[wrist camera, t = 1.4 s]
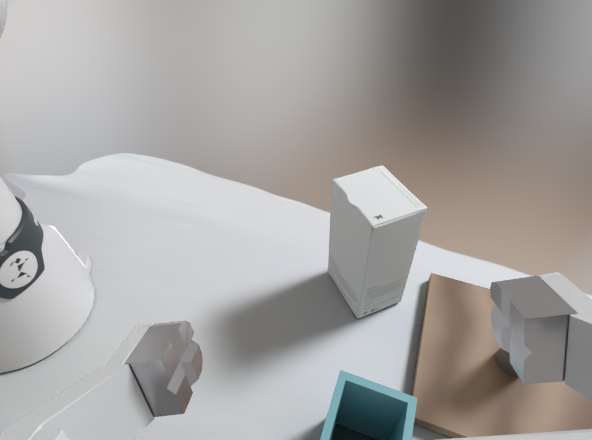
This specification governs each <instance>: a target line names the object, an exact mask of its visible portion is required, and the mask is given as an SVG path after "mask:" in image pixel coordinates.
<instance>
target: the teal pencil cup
mask: <svg viewBox="0 0 592 440" xmlns="http://www.w3.org/2000/svg"><path fill="white" fill-rule="evenodd" d="M416 405H417V398H416V397H413V396H411V395H408V394H405V393H402V392H400V391H397V390H394V389H391V388H389V387H386V386H383V385H380V384H377V383H375V382H372V381H369V380H366V379H364V378H361V377H358V376H355V375H353V374H350V373H347V372H344V371H342V370H340V373H339V377H338V380H337V383H336V387H335V390H334V393H333V397H332V400H331V404H330V407H329V410H328V414H327V417H326V420H325V424H324V427H323V431H322V434H321V437H320V440H332V436H333V433H334V429H335V426H336V423H337V424H340V425H342V426H345V427H347V428H350V429H352V430H355V431H357V432H360V433H362V434H364V435H367V436H369V437H372V438H374V439H377V440H412V434H413V426H414V419H415V412H416Z"/></svg>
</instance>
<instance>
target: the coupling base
mask: <svg viewBox="0 0 592 440" xmlns="http://www.w3.org/2000/svg"><path fill="white" fill-rule="evenodd" d="M495 305H496V304H495V303H494V301H493V300H492V298H491V297H490V289H488V288H484V287H480V286H477V285H473V284H469V283H466V282H462V281H458V280H455V279H451V278H447V277H444V276H440V275H437V274H433V273H431V275H430V278H429V280H428V287H427V293H426V300H425V307H424V313H423V320H422V327H421V333H420V340H419V347H418V353H417V360H416V367H415V373H414V380H413V387H412V393H411V396H413V397H416V398H417V405H416V412H415V419H414V424H416V425H418V426H421V427H424V428H426V429H429V430H432V431H434V432H437V433H439V434H442V435H445V436H447V437H450V438H467V437H482V436H497V435H512V434H528V433H542V432H556V431H570V430H583V429H592V401H590V400H589V399H587V398H586V397H584V396H583V395H581V394H580V393H578V392H577V391H575V390H574V389H572V388H571V387H569V386H568V385H566V384H565V382H551V383H534V384H523V383H522V381H521V379H520V378H519V376H518V375H517V373H516V371H515V370H514V368H513V367H512V365H511V363H510V353H508V352H506V351H505V350H503V349H501V347H500V345H499V344H498V342H497V340H496V337H495V335H494V332H493V328H492V324H491V310H492V309H493V307H494V306H495Z"/></svg>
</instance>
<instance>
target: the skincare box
mask: <svg viewBox="0 0 592 440" xmlns="http://www.w3.org/2000/svg"><path fill="white" fill-rule="evenodd" d="M331 195H332V196H331V217H330V239H329V261H328V273H329V274H330V276H331V278H332V279H333V281H334V283H335V284H336V286H337V287H338V289H339V290H340V292H341V294H342V295H343V297H344V298H345V300H346V302H347V303H348V305H349V306H350V308H351V309H352V311H353V313H354V314H355V316H356V317H357V318H361V317H363V316H366V315H368V314H371V313H373V312H376V311H378V310H381V309H383V308H386V307H388V306H390V305H393V304H395V303H398V302H400V301H401V299H402V295H403V292H404V288H405V285H406V281H407V277H408V274H409V271H410V267H411V264H412V260H413V257H414V253H415V250H416V246H417V243H418V239H419V236H420V232H421V229H422V225H423V221H424V218H425V214H426V211H427V207H426V206H425V205H424V204H422V203H421V201H419V200H418V199H417V198H416V197H415V196H414V195H413V194H412V193H411V192H410V191H409V190H408V189H407V188H406V187H405V186H404V185H402V184H401V183H400V182H399V181H398V180H397V179H396V178H395V177H394V176H393V175H392V174H391V173H390V172H389V171H388V170H387V169H386V168H385V167H384V166H382V165H381V166H378V167H374V168H371V169H367V170H364V171H361V172H358V173H354V174H351V175H347V176H344V177H340V178H336V179H333V180H332V194H331Z"/></svg>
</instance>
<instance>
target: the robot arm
mask: <svg viewBox="0 0 592 440" xmlns="http://www.w3.org/2000/svg"><path fill="white" fill-rule="evenodd" d="M6 18H7V0H0V37H1V35H2V33H3V31H4V27H5V23H6ZM91 264H92V260H91V258H90V257H89V256H88V254H86V253H84V252H76V251H73V250H72V248H71V247H70V246H69V244H68V243H67V242H66V241H65V239H64V238H63V237H62V236H61V234H60V233H59V232H58V231H57V229H56V228H55V227H53V226H52V225H49V226H47V225H44V224H39V222H38V220H37V218H36V216H35V215H34V213H33V212H32V211H31V209H30V208H28V207H27V206H26V205H25V203H24V202H23V201H22V200H21V199H19V198H17V197H15V196H14V195H13V194H12V193H11V191H10V190H9V188H8V187H7V185H6V184H5V183H4V181H3V180H2V178H1V177H0V373H3V372H8V371H13V370H16V369H20V368H23V367H26V366H28V365H31V364H33V363H35V362H38V361H40V360H42V359H43V358H45V357H47V356H49V355H50V354H52V353H53V352H55V351H56V350H58V349H59V348H60V347H62V346H63V345H64V344H65V343H66V342H67V341H69V340H70V339H71V338H72V337H73V336H74V335H75V334H76V332H77V331H78V330H79V329H80V328H81V326H82V325H83V324H84V322H85V321H86V319H87V317H88V315H89V313H90V311H91V309H92V306H93V302H94V287H93V284H92V281H91V279H90V274H89V273H90V269H91ZM490 297H491V298H492V300H493V301H494V303H495V304H496V305H495V306H494V307H493V309H492V310H491V324H492V328H493V332H494V335H495V337H496V340H497V342H498V344H499V345H500V347H501V349H503V350H505V351H506V352H508V353H510V363H511V365H512V367H513V368H514V370H515V371H516V373H517V375H518V376H519V378H520V379H521V381H522V383H523V384H534V383H551V382H565V384H566V385H568V386H569V387H571V388H572V389H574V390H575V391H577V392H578V393H580V394H581V395H583V396H584V397H586V398H587V399H589V400H590V401H592V300H591V299H590V298H589V297H587V296H586V295H585V294H584V293H583V292H582V291H581V290H579V289H578V288H577V287H576V286H575V285H574V284H573V283H571V282H570V281H569V280H568V279H567V278H566V277H565V276H563V275H562V274H560V273H557V272H555V273H549V274H543V275H537V276H533V277H526V278H519V279H511V280H504V281H497V282H492V283H491V287H490ZM193 334H194V331H193V329H192V327H191V324H190V323H189V322H187V321H178V322H169V323H159V324H150V325H142V326H138V327H135V328H133V330H132V331H131V332H130V334H129V335H128V336H127V338H126V339H125V340H124V342H123V343H122V344H121V346H120V347H119V348H118V350H117V351H116V352H115V354H114V355H113V356H112V358H111V359H110V360H109V362H108V363H107V364H106V366H104V367H99V368H98V369H96V370H95V371H93V372H92V373H90V374H89V375H87V376H85V377H84V378H82V379H81V380H79V381H78V382H76V383H75V384H73V385H72V386H70V387H69V388H67V389H66V390H64V391H63V392H61V393H60V394H58V395H57V396H55V397H54V398H52V399H51V400H49V401H48V402H46V403H45V404H43V405H42V406H40V407H39V408H37V409H36V410H34V411H33V412H31V413H29V414H28V415H26V416H25V417H23V418H22V419H20V420H19V421H17V422H16V423H14V424H13V425H11V426H10V427H8V428H7V429H6V430H5V431H4V432H3V433H2V435H1V436H0V440H134V439H135V438H136V437H137V436H138V435H139V434H140V433H141V432H142V431H143V430H144V429H145V428H146V427H147V426H148V425H149V424H150V423H151V421H152V420H153V419H154V417H159V416H167V415H176V414H184V412H185V410H186V408H187V405H188V403H189V400H190V398H191V396H192V393H193V392H192V390H191V387H190V386H191V385H193V384H194V383H195V382H196V381H197V380H198V379H199V376H200V374H201V371H202V361H203V360H202V353H201V350H200V347H199V345H198V344H197V343H195V342H194V341H193V340H192V336H193ZM436 440H592V429H583V430H570V431H556V432H542V433H528V434H512V435H497V436H482V437H467V438H452V439H436Z"/></svg>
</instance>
